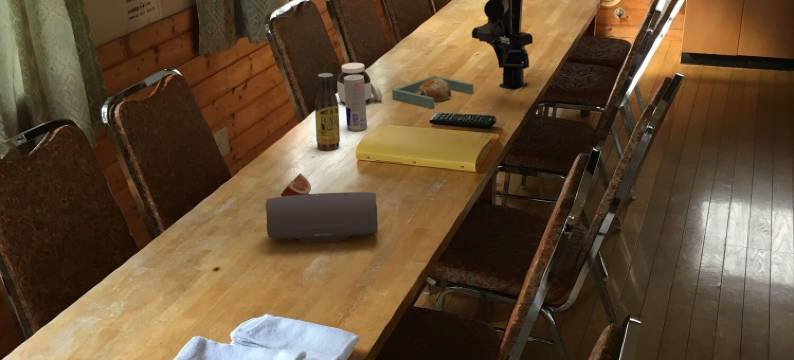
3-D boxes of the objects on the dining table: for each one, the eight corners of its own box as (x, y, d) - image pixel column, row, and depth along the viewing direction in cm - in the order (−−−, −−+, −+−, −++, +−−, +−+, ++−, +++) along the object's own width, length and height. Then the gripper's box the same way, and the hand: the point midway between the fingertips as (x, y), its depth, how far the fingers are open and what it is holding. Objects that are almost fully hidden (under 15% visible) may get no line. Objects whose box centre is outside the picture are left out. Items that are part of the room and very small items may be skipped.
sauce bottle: (322, 153, 246) (316, 79, 239) (313, 146, 252) (307, 74, 244) (345, 148, 249) (340, 75, 242) (335, 141, 254) (330, 70, 247)
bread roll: (443, 114, 283) (454, 91, 280) (412, 100, 283) (423, 77, 280) (446, 104, 292) (457, 81, 289) (416, 90, 292) (426, 68, 289)
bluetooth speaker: (377, 225, 203) (375, 183, 199) (378, 244, 194) (375, 200, 191) (272, 231, 203) (268, 189, 199) (268, 250, 194) (263, 206, 190)
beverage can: (370, 125, 265) (367, 74, 259) (362, 132, 260) (359, 80, 254) (351, 124, 267) (348, 73, 261) (344, 131, 262) (340, 79, 256)
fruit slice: (290, 190, 224) (288, 171, 222) (316, 192, 222) (315, 173, 220) (276, 204, 216) (274, 184, 214) (303, 207, 214) (301, 186, 212)
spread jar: (334, 103, 286) (332, 66, 282) (361, 94, 294) (358, 57, 289) (362, 110, 279) (360, 72, 274) (388, 100, 286) (386, 63, 282)
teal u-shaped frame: (434, 84, 300) (434, 75, 298) (473, 93, 289) (473, 84, 288) (392, 99, 287) (392, 89, 286) (431, 108, 277) (431, 99, 275)
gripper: (458, 12, 269) (459, 65, 275) (508, 21, 256) (508, 76, 262) (484, 5, 276) (484, 57, 282) (534, 13, 263) (533, 67, 269)
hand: (501, 64), depth 274 cm, fingers closed
